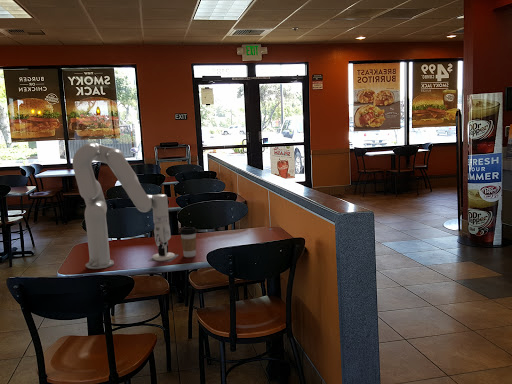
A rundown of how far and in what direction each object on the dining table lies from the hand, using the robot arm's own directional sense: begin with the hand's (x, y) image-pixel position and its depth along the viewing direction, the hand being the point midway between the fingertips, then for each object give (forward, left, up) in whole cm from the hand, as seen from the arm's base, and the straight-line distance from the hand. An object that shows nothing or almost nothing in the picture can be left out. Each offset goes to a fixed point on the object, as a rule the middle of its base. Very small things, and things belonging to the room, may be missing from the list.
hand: (163, 254), depth 240 cm
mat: (0, 0, -2) cm, 2 cm away
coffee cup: (+5, -12, -3) cm, 13 cm away
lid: (0, 0, -2) cm, 2 cm away
